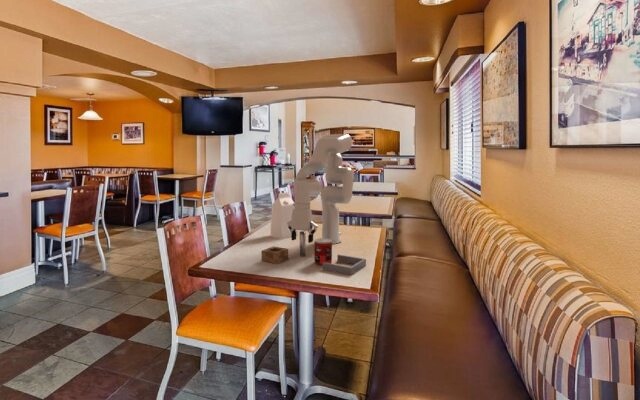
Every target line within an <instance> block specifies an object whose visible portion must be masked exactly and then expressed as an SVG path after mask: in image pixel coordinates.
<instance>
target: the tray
mask: <svg viewBox="0 0 640 400" xmlns="http://www.w3.org/2000/svg"><path fill="white" fill-rule="evenodd" d="M337 262H339V263H346V264H350V265H351V264H352V265H351V266H347V265H341V264H336V263H335V264H334V263H325V262H323V263H322V266H321V267H322V268H321V269H322V271H323V270H324V271H329V272H334V273H339V274H343V275H344V274H345V275H349V276H352V275H354V274H355V273H357V272H358V271H360V270H361V269H363V268H364V267H366V266H367V259H366V258H363V257H362V258H361V257H356V256H351V255H350V256H349V255H343V254H337Z"/></svg>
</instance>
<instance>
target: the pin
mask: <svg viewBox="0 0 640 400" xmlns="http://www.w3.org/2000/svg"><path fill="white" fill-rule="evenodd" d="M306 233H307V231H303V230H299V257H307V252H306V251H307V250H306V248H307V243H306V242H307V239H306V238H307V235H306Z"/></svg>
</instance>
